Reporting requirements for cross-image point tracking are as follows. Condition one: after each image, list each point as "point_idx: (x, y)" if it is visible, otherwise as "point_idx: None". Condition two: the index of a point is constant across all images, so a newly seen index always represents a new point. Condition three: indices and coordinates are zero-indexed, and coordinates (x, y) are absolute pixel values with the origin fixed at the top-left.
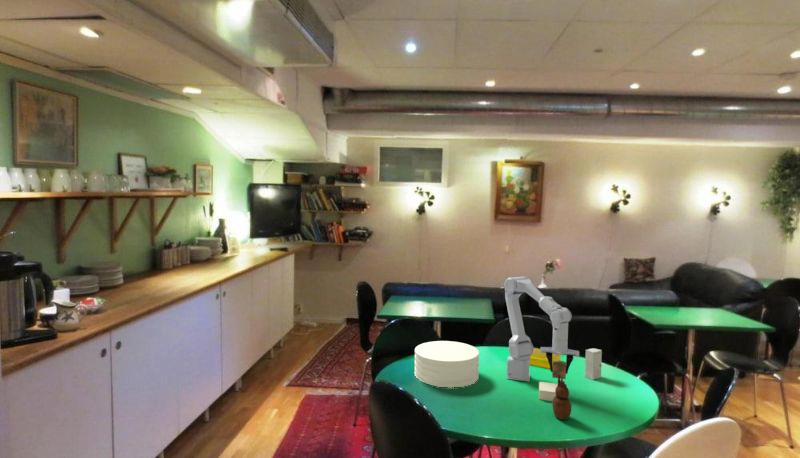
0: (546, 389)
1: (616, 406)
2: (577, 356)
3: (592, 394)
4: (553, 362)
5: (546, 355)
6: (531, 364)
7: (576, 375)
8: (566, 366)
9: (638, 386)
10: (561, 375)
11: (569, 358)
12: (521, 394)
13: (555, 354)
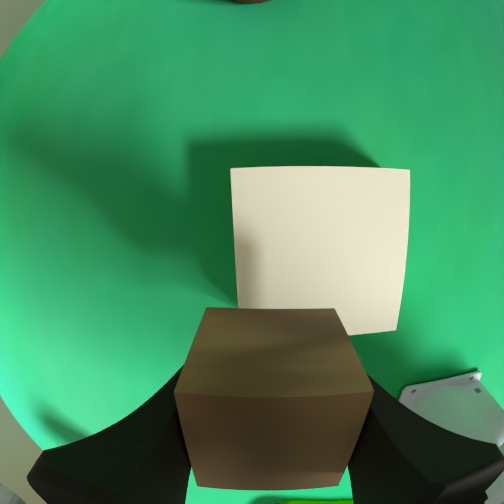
0: (362, 198)
1: (12, 227)
2: (2, 490)
3: (98, 336)
4: (339, 465)
5: (501, 471)
6: (351, 501)
7: (192, 481)
8: (172, 409)
9: (19, 413)
10: (245, 325)
11: (66, 482)
12: (461, 214)
13: None
